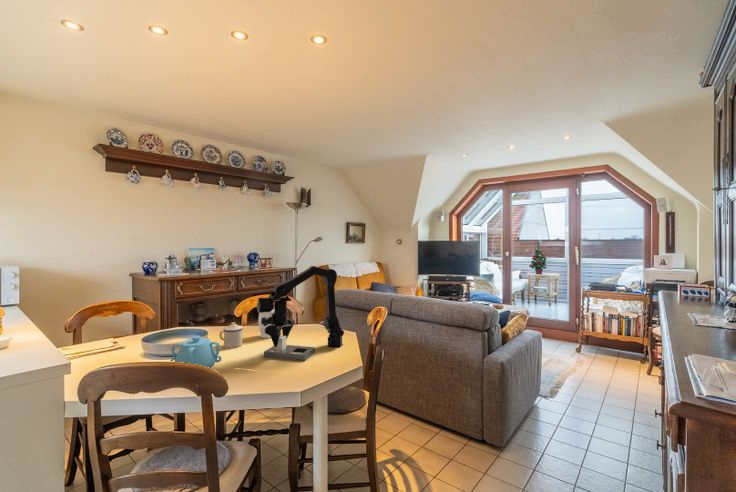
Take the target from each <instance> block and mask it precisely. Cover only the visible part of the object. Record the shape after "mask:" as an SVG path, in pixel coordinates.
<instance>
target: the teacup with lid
mask: <svg viewBox="0 0 736 492" xmlns="http://www.w3.org/2000/svg"><path fill="white" fill-rule="evenodd" d="M243 329H244V328H243V326H242V325H238V324H237V323H236V322H230V324H229V325H228V326H225V327H224V328H223V330H221V331H220V332H219V339H220V341H223V347H224V348H225V349H235V348H239V347H242V345H243ZM222 333H223V336H222Z"/></svg>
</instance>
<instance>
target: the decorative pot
mask: <svg viewBox="0 0 736 492" xmlns="http://www.w3.org/2000/svg"><path fill="white" fill-rule="evenodd" d="M214 345H215V346H216V347H217V350H216V348H215V347H214ZM177 347H179V349H178V351H177V353H176V352H175V348H177ZM170 350H171V351H170V352H171V354H172V357H173V358H171V359H170V361H173V362H184V363H191V364H197V365H202V366H206V367H209V368H210V369H211V368H213V366H214V365H215V363H220V362H221V361H222V356H221V355H219V354H220V352H221V344H220V343H219V342H218V341H211V340H210V338H205V337H201V336H200V335H197V336H196V335H195V336H192V337H191V339H190V338H189V339H187V340H184V341H183V342H181V343H180V342H178V343H175V344H173V345H172V347H171V349H170ZM170 361H169V362H170Z"/></svg>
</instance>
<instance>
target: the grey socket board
mask: <svg viewBox="0 0 736 492" xmlns="http://www.w3.org/2000/svg"><path fill="white" fill-rule="evenodd" d="M315 353H316V347H315V346H302V345H294V344H293V345H291V344H286V349H285V350H284V351H278V350H274V345H272V346H271V347H270V348H268V349H266V350H264V351H263V358H266V359H267V358H268V359H275V360H276V359H279V360H288V361H289V360H290V361H299V362H306V361H308V359H310V358H311V357H312V356H313V355H314V354H315Z"/></svg>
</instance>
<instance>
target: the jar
mask: <svg viewBox="0 0 736 492" xmlns="http://www.w3.org/2000/svg"><path fill="white" fill-rule="evenodd" d="M273 313H274V309H273V310H272V311H271V312H263V313H258V329H259V332H260V338H262V339H270V338H271V336H270V335H268V334H266V333H265V328H266V327H267V326H270V325H271V324H268V325H266V326H264V325H263V324H261V320H262V318H263V317H267V318H268V317H271V316H272V314H273Z"/></svg>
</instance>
